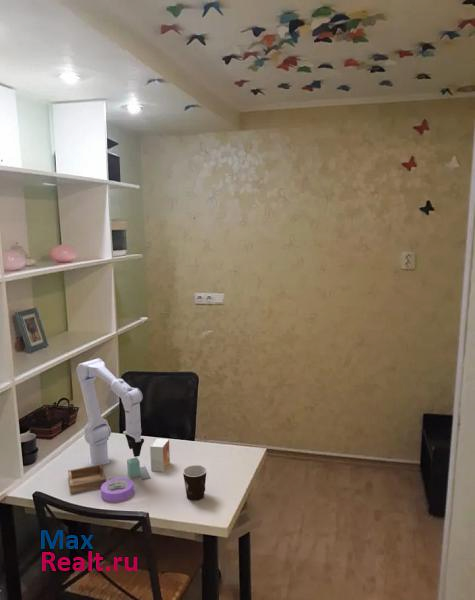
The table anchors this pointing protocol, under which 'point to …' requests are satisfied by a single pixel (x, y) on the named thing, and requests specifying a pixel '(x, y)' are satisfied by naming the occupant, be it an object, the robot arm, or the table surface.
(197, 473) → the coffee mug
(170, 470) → the table surface
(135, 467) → the block
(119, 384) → the robot arm
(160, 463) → the small box
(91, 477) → the wooden tray
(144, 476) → the mat
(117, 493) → the masking tape
